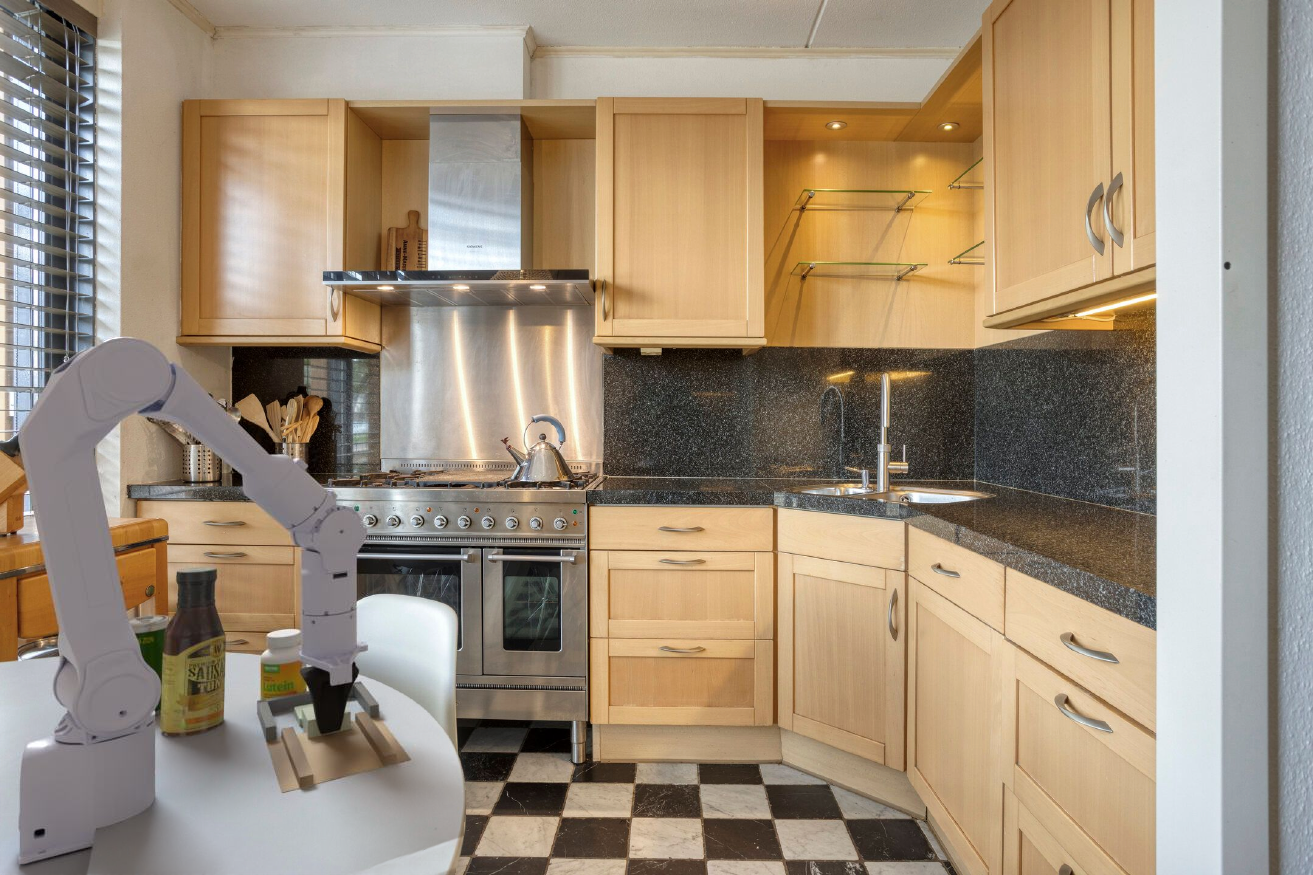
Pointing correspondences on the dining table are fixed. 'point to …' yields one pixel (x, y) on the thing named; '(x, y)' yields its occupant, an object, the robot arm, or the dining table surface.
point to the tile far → (300, 713)
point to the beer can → (151, 643)
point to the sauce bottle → (193, 658)
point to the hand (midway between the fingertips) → (329, 730)
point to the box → (304, 698)
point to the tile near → (311, 725)
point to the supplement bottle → (282, 665)
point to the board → (333, 753)
